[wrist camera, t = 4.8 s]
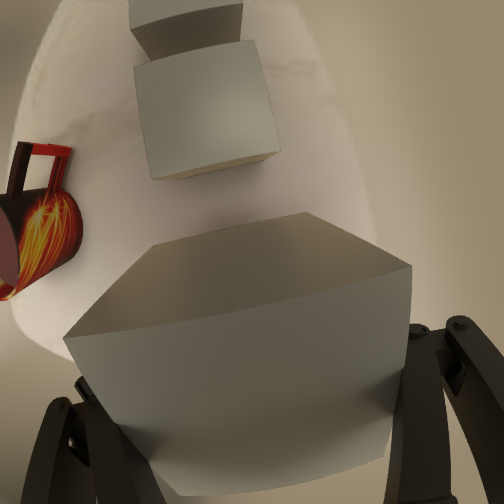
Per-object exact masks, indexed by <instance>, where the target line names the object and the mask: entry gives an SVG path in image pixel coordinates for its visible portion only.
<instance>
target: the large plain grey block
mask: <svg viewBox="0 0 504 504" xmlns="http://www.w3.org/2000/svg"><path fill="white" fill-rule="evenodd" d="M411 293H412V266H411V265H410V264H408V263H406V262H404V261H402V260H400V259H399V258H397V257H395V256H393V255H391V254H389V253H387V252H386V251H384V250H382V249H380V248H378V247H376V246H374V245H372V244H370V243H368V242H366V241H364V240H362V239H360V238H358V237H356V236H355V235H353V234H351V233H348V232H346V231H344V230H342V229H340V228H338V227H336V226H334V225H332V224H330V223H328V222H326V221H324V220H322V219H320V218H317V217H315V216H313V215H311V214H309V213H307V212H305V213H300V214H295V215H290V216H285V217H280V218H275V219H271V220H266V221H261V222H256V223H252V224H247V225H242V226H238V227H233V228H229V229H224V230H219V231H215V232H211V233H206V234H202V235H197V236H193V237H189V238H184V239H180V240H176V241H172V242H167V243H163V244H159V245H155V246H152V247H151V248H150V249H149V250H148V251H147V252H146V253H145V254H144V255H143V256H142V257H141V258H140V259H138V260H137V261H136V262H135V263H134V264H133V265H132V266H131V267H130V268H129V269H128V270H127V271H126V272H125V273H124V274H123V275H122V276H121V277H120V278H119V279H118V280H117V281H116V282H115V283H114V284H113V285H112V286H111V287H110V288H109V289H108V290H107V291H106V292H105V293H104V294H103V295H102V296H101V297H100V298H99V299H98V300H97V301H96V302H95V303H94V304H93V306H92V307H91V308H90V309H89V310H88V311H87V312H86V313H85V314H84V315H83V316H82V317H81V318H80V319H79V320H78V322H77V323H76V324H75V325H74V326H73V327H72V328H71V329H70V330H69V332H68V333H67V334H66V335H65V336H64V337H63V340H64V342H65V344H66V346H67V348H68V350H69V352H70V354H71V355H72V357H73V359H74V361H75V363H76V364H77V366H78V368H79V370H80V371H81V373H82V375H83V376H84V378H85V380H86V381H87V383H88V385H89V386H90V388H91V389H92V391H93V393H94V394H95V396H96V397H97V399H98V400H99V402H100V403H101V405H102V406H103V407H104V409H105V410H106V412H107V413H108V415H109V416H110V417H111V419H112V420H113V421H114V423H117V425H118V426H119V427H120V428H121V430H122V431H123V432H124V434H125V435H126V436H127V437H128V439H129V440H130V441H131V442H132V444H133V445H134V446H135V447H136V448H137V450H138V451H139V452H140V453H141V454H142V455H143V456H144V458H145V459H146V460H147V461H148V462H149V465H150V466H151V467H152V468H153V469H154V470H155V471H156V472H157V473H158V474H159V475H160V476H161V477H162V478H163V479H164V480H165V481H166V482H167V483H168V484H169V485H170V486H171V487H172V488H173V489H174V490H175V491H176V492H177V493H178V494H180V495H182V496H196V495H197V496H199V495H200V496H201V495H223V494H236V493H245V492H254V491H261V490H267V489H274V488H280V487H285V486H290V485H295V484H299V483H304V482H308V481H312V480H316V479H319V478H323V477H327V476H330V475H333V474H336V473H340V472H343V471H346V470H349V469H352V468H355V467H358V466H360V465H363V464H365V463H368V462H371V461H374V460H376V459H379V458H381V457H383V455H384V452H385V449H386V446H387V442H388V438H389V435H390V432H391V428H392V424H393V413H394V409H395V404H396V400H397V395H398V390H399V384H400V378H401V372H402V368H404V365H405V358H406V351H407V343H408V334H409V324H410V311H411V310H410V309H411Z"/></svg>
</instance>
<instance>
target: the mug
mask: <svg viewBox="0 0 504 504" xmlns="http://www.w3.org/2000/svg"><path fill="white" fill-rule="evenodd" d="M70 152H71V148H70V147H67V146H61V145H54V144H48V145H47V144H39V143H30V142H20V141H18V143H17V147H16V150H15V154H14V158H13V162H12V166H11V171H10V176H9V181H8V186H7V192H6V194H0V301H5V300H8V299H10V298H11V297H13V296H14V295H16V294H17V293H19V292H20V291H22V290H23V289H25V288H26V287H28V286H29V285H31V284H32V283H34V282H35V281H37V280H38V279H40V278H42V277H43V276H45V275H46V274H48V273H50V272H51V271H53V270H54V269H56V268H58V267H59V266H61V265H63V264H64V263H66V262H68V261H69V260H71V259H72V258H73V257H74V256H75V255H76V253H77V252H78V250H79V248H80V245H81V242H82V237H83V221H82V216H81V212H80V210H79V207H78V205H77V203H76V202H75V200H74V199H73V197H72V196H71V195H70V194H69V193H68V192H66V191H65V190H63V189H61V188H60V187H61V183H62V179H63V175H64V171H65V168H66V164H67V161H68V157H69V155H70ZM31 154H34V155H50V156H55V160H54V164H53V167H52V171H51V175H50V179H49V184H48V188H42V189H34V190H26V191H23V187H24V182H25V177H26V172H27V168H28V164H29V160H30V156H31Z"/></svg>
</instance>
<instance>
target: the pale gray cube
mask: <svg viewBox="0 0 504 504" xmlns="http://www.w3.org/2000/svg"><path fill="white" fill-rule="evenodd" d="M134 76H135V84H136V92H137V99H138V106H139V112H140V119H141V125H142V131H143V136H144V142H145V147H146V153H147V158H148V163H149V168H150V172H151V177H152V180H178V179H182V178H186V177H190V176H194V175H198V174H202V173H207V172H211V171H215V170H220V169H224V168H229V167H234V166H238V165H243V164H248V163H253V162H259V161H263V160H265V159H267V158H269V157H270V156H272V155H274V154H276V153H277V152H279V151H281V150H280V145H279V140H278V136H277V131H276V126H275V122H274V118H273V113H272V109H271V104H270V100H269V96H268V92H267V88H266V84H265V80H264V76H263V72H262V68H261V64H260V60H259V56H258V52H257V49H256V45H255V41H254V40H248V41H240V42H234V43H227V44H221V45H216V46H211V47H206V48H201V49H196V50H192V51H188V52H184V53H180V54H176V55H172V56H169V57H165V58H162V59H158V60H155V61H152V62H149V63H146V64H143V65H140V66H137V67H134Z"/></svg>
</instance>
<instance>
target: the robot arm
mask: <svg viewBox="0 0 504 504" xmlns="http://www.w3.org/2000/svg"><path fill="white" fill-rule="evenodd" d="M74 387H75V388H76V390H77V391H78V393H79V394H80V396H81V397H82V399H83V400H84V402H82V403H77V404H72V403H71V401H70V400H69V399H68V398H67V397H59V398H56V399H54V400H53V401H52V402H51V403H50V404H49V406H48V408H47V410H46V413H45V416H44V418H43V421H42V424H41V427H40V430H39V433H38V436H37V439H36V442H35V445H34V449H33V452H32V456H31V459H30V463H29V466H28V470H27V474H26V479H25V483H24V487H23V492H22V497H21V502H20V504H96V497H97V500H98V504H166V502H165V499H164V497H163V495H162V493H161V491H160V489H159V486H158V484H157V482H156V480H155V477H154V475H153V472H152V470H151V467H150V465H149V462H148V461H147V460H146V459H145V458H144V456H143V455H142V454H141V453H140V452H139V451H138V450H137V448H136V447H135V446H134V445H133V444H132V442H131V441H130V440H129V439H128V437H127V436H126V435H125V434H124V432H123V431H122V430H121V428H120V427H119V426H118V425H117V423H114V421H113V420H112V419H111V417H110V416H109V415H108V413H107V412H106V410H105V409H104V407H103V406H102V405H101V403H100V402H99V400H98V399H97V397H96V396H95V394H94V393H93V391H92V389H91V388H90V386H89V385H88V383H87V381H86V380H85V378H84V376H81V377H80V378H79V379H78V380H77V381H76V382H75V386H74ZM443 389H444V391H445V393H446V395H447V397H448V399H449V401H450V403H451V405H452V407H453V409H454V411H455V414H456V416H457V418H458V420H459V423H460V425H461V427H462V430H463V432H464V434H465V437H466V439H467V442H468V444H469V447H470V449H471V452H472V454H473V457H474V460H475V462H476V465H477V468H478V471H479V474H480V477H481V480H482V482H483V486H484V489H485V492H486V496H487V499H488V503H489V504H504V357H503V355H502V354H501V353H500V352H499V351H498V349H497V348H496V347H495V346H494V344H493V343H492V342H491V341H490V340H489V339H488V338H487V336H486V335H485V334H484V333H483V332H482V330H481V329H480V328H479V327H478V326H477V325H476V324H475V323H474V322H473V321H472V320H471V319H470V318H468V317H466V316H459V315H458V316H453V317H451V318H449V319H448V320H447V322H446V328H445V329H439V330H434V331H430V330H429V328H427V327H426V326H424V325H421V324H409V334H408V343H407V351H406V358H405V365H404V368H402V372H401V378H400V384H399V390H398V395H397V400H396V404H395V409H394V413H393V427H392V442H391V453H390V462H389V471H388V478H387V485H386V491H385V498H384V502H383V504H458V501H457V498H456V497H455V496H453V495H452V493H451V460H450V442H449V431H448V420H447V412H446V405H445V398H444V392H443ZM69 440H70V441H71V442H72V446H71V447H70V446H69Z"/></svg>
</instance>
